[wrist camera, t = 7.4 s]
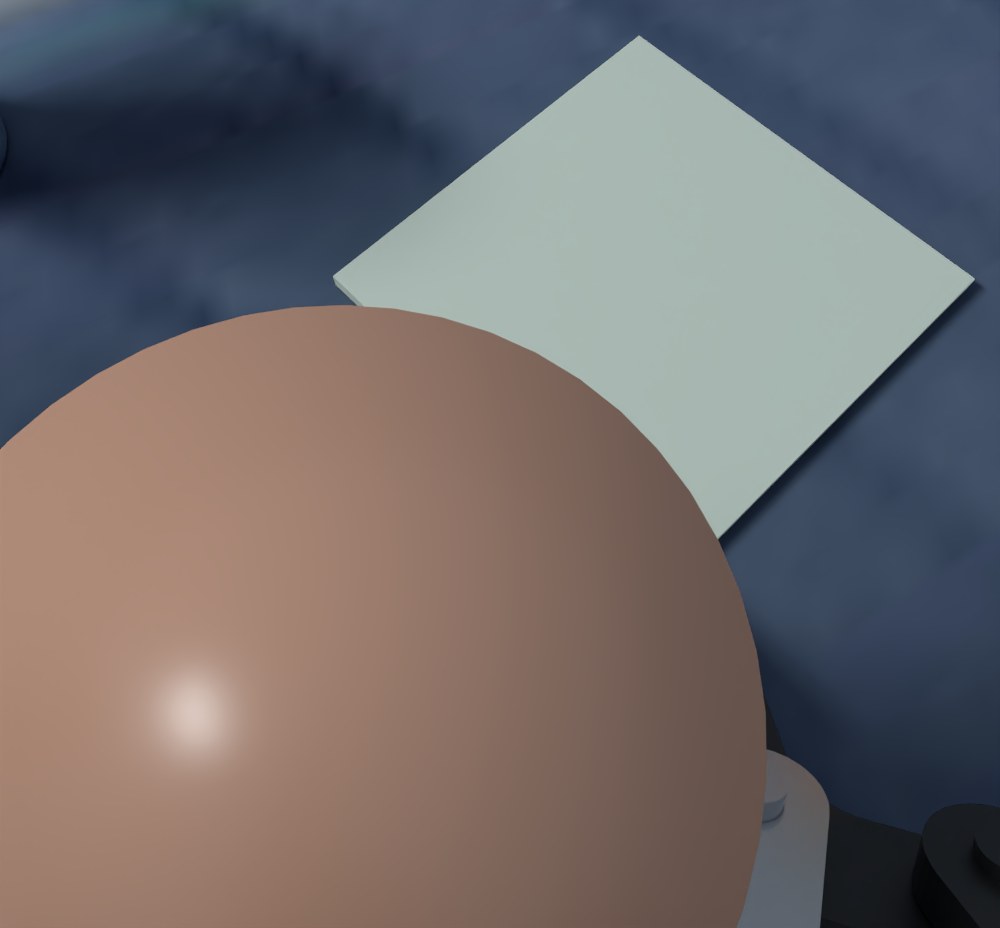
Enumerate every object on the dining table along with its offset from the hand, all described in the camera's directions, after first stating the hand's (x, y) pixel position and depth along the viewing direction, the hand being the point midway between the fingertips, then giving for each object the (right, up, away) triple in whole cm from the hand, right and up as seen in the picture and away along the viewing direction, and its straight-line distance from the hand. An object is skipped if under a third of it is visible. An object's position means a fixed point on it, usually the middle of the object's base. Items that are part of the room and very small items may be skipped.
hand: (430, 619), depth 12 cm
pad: (+6, +8, +16) cm, 18 cm away
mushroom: (0, -4, +5) cm, 6 cm away
